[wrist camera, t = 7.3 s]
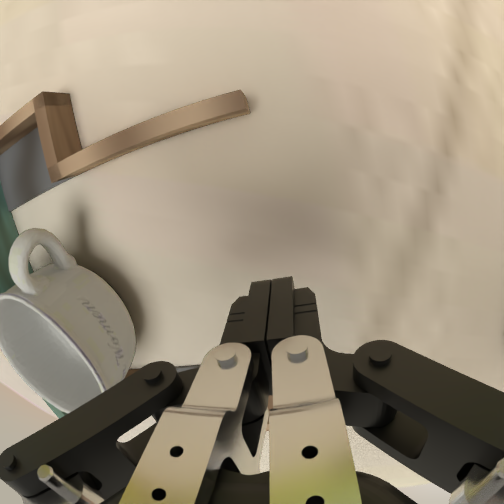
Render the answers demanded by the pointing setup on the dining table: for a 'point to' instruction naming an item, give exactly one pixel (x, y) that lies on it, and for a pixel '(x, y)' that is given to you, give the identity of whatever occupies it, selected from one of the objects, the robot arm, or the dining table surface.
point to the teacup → (63, 326)
